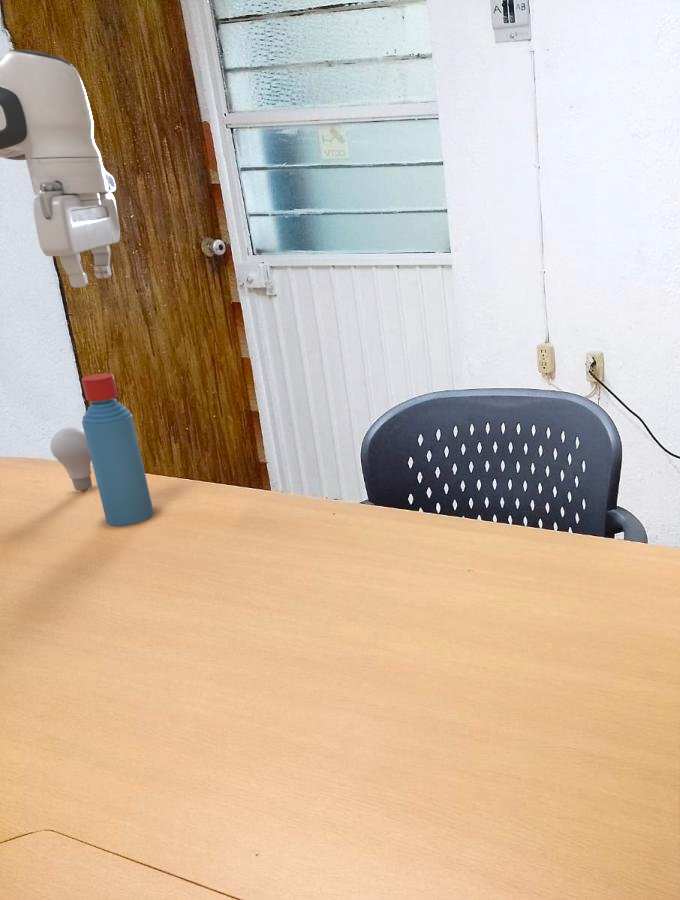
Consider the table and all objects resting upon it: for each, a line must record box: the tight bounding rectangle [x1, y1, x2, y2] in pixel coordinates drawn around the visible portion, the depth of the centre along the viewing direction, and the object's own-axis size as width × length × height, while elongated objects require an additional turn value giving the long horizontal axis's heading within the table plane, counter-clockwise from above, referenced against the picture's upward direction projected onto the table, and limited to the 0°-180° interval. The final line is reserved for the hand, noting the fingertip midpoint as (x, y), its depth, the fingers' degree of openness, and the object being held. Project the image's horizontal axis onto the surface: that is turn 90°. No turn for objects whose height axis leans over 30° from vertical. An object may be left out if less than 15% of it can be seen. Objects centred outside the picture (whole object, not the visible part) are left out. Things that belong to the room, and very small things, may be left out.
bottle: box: [81, 398, 155, 527], centre depth 123 cm, size 6×6×22 cm
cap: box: [81, 373, 118, 402], centre depth 120 cm, size 4×4×3 cm
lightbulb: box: [50, 426, 93, 493], centre depth 136 cm, size 6×6×11 cm
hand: (92, 282), depth 119 cm, fingers open, 8 cm apart
